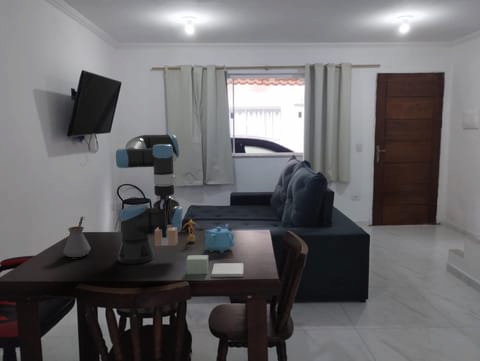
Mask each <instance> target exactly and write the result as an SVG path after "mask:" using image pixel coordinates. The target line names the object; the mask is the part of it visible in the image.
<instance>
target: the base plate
mask: <svg viewBox="0 0 480 361" xmlns="http://www.w3.org/2000/svg"><path fill="white" fill-rule="evenodd" d="M231 277H232V278H235V277H236V278H238V277H239V278H242V277H244V263H243V262H240V263H239V262H238V263H236V262H233V263H231V262H229V263H226V262H224V263H222V262H221V263H214V264H213V266H212V271H211V278H231Z"/></svg>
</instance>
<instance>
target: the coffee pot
mask: <svg viewBox="0 0 480 361" xmlns="http://www.w3.org/2000/svg"><path fill="white" fill-rule="evenodd" d="M79 219H80V220H79V222H78V226H71V227H68V228H67V230H68V231H69V234H68V237H67V240H66V244H65V245H64V248H63V254H64V255H65V256H66V257H68V258H69V257H81V258H83V257H82V256H84V257H86V256H87V255H88V254H89V253H90V251H91V246H90V244H89V242H88V240H87V238H86V237H85V235H84V233H83V230H84V228H85V227H84V226H82V224H83V221H84V219H86V217H85V216H81V217H80V218H79ZM86 254H87V255H86ZM85 255H86V256H85Z"/></svg>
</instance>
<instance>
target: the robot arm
mask: <svg viewBox="0 0 480 361" xmlns="http://www.w3.org/2000/svg"><path fill="white" fill-rule="evenodd" d="M179 157H180V149H179V143H178V137H177V136H176V135H174V134H169V133H166V134H143V135H137V136H135V137H133V138H131V139H130V140H129V141H127V143H126V145H125V148H120V149H116V151H115V163H116V165H115V166H116V167H117V168H118V169H133V168H153V184H154V189H153V190H154V195H155V196H156V197H155V198H156V199H155V200H156V201H155V202H154V203H153V206H152V207H149V206H148V204H135V205H130V206H127V207H125V208H122V209H121V211H120V213H119V214H120V217H119V218H120V220H119V222H120V231H121V232H120V233H121V234H120V235H121V245H120V248H119V252H118V257H117V258H118V262H119V263H122V264H126V265H133V264H134V265H138V264H143V263H147V262H149V261H152V260H154V258H155V251H154V249H153V246H152V244H151V242H150V236H151V235H155V230H156V228H157V227H159V229H161V246H160V247H163V246H162V245H169V237H168V229H167V228H168V227H177V231H178V233H180V232H181V230H182V228H183V227H182V226H183V214H184V213H183V211H184V209H183V206H182V205H181V206H180V203H179V201H178V200H176V182H175V178H176V176H175V165H174V164H175V162H176V161H177V158H179Z"/></svg>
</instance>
